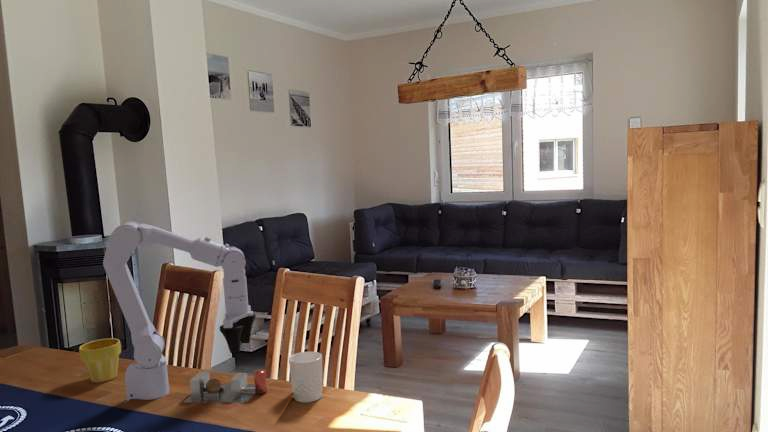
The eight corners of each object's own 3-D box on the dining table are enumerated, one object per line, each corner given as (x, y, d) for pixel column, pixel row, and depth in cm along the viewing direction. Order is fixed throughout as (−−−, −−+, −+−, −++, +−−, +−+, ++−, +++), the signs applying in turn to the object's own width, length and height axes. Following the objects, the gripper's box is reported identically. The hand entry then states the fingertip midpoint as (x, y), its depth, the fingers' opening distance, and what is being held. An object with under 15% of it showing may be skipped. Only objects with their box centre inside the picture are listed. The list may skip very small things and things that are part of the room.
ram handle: (231, 395, 145) (229, 375, 144) (238, 387, 149) (236, 368, 149) (263, 395, 144) (262, 375, 143) (269, 387, 149) (268, 367, 148)
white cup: (318, 404, 140) (316, 362, 139) (286, 403, 142) (283, 362, 141) (328, 391, 148) (326, 351, 147) (298, 390, 150) (295, 351, 149)
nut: (204, 396, 146) (202, 381, 146) (209, 390, 150) (208, 376, 149) (218, 395, 146) (217, 381, 145) (223, 390, 149) (222, 376, 149)
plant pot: (73, 383, 163) (69, 348, 162) (104, 370, 173) (101, 336, 172) (102, 387, 159) (98, 351, 158) (132, 373, 169) (128, 339, 168)
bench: (183, 407, 143) (181, 384, 142) (202, 389, 154) (200, 367, 153) (248, 406, 141) (246, 383, 141) (262, 388, 152) (261, 367, 151)
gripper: (241, 302, 145) (245, 356, 147) (260, 288, 160) (264, 338, 161) (213, 303, 146) (217, 357, 147) (234, 289, 160) (238, 339, 162)
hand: (240, 347), depth 154 cm, fingers open, 7 cm apart
